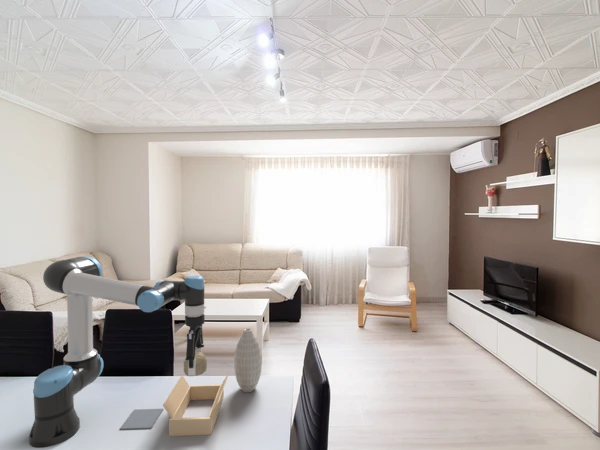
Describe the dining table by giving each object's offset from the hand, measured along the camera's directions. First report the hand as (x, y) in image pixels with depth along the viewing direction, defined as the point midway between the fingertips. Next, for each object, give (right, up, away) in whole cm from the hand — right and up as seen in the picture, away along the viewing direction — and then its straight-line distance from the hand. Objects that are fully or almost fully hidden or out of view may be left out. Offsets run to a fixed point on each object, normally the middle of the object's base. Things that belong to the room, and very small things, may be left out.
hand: (195, 369), depth 131 cm
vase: (+18, -19, +20) cm, 33 cm away
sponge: (0, -1, 0) cm, 1 cm away
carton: (+1, -19, +1) cm, 19 cm away
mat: (-21, -19, -2) cm, 28 cm away
